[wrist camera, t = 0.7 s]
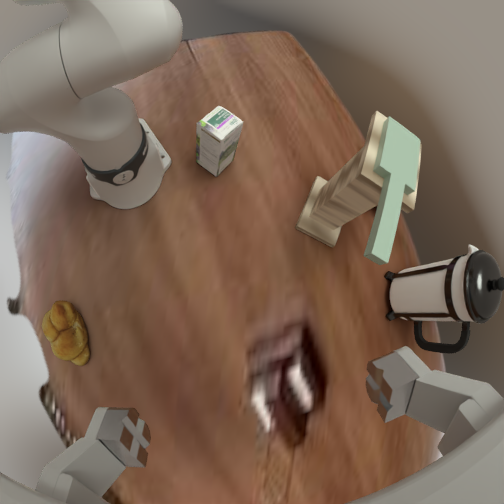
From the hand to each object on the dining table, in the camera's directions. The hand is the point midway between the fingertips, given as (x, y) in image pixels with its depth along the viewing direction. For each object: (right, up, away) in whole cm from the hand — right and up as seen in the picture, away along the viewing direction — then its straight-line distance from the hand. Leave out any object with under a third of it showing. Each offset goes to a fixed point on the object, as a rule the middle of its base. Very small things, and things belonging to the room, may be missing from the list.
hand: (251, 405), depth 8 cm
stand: (+15, +14, +49) cm, 53 cm away
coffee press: (+36, -7, +49) cm, 62 cm away
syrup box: (-8, +24, +47) cm, 53 cm away
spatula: (+18, +13, +23) cm, 32 cm away
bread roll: (-36, -12, +36) cm, 52 cm away
